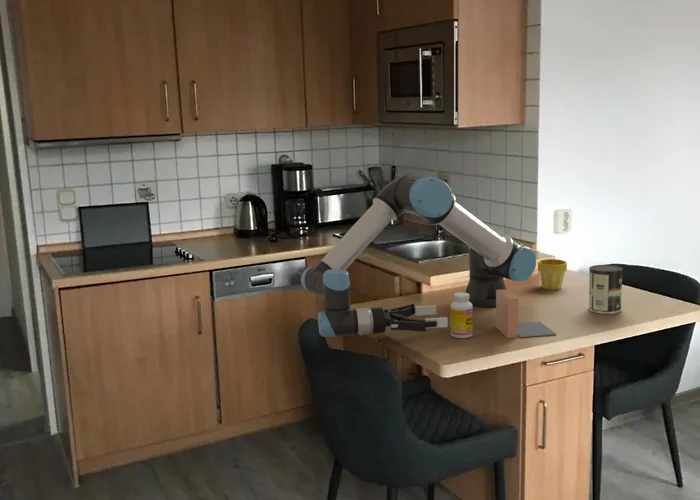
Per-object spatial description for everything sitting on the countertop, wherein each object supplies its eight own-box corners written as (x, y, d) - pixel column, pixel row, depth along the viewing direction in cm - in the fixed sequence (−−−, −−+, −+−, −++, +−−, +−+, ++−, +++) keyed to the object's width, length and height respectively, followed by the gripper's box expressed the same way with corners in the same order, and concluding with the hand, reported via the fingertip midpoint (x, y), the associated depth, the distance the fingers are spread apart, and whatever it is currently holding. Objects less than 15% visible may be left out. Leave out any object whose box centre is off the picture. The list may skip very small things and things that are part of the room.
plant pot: (569, 290, 275) (570, 264, 273) (541, 291, 275) (541, 265, 273) (562, 283, 285) (562, 258, 283) (534, 284, 285) (534, 259, 283)
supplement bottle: (467, 340, 223) (467, 298, 221) (446, 337, 227) (446, 295, 224) (476, 334, 229) (476, 292, 226) (456, 331, 232) (455, 290, 230)
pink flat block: (507, 338, 224) (508, 298, 221) (496, 327, 235) (496, 289, 232) (517, 337, 224) (518, 298, 222) (505, 326, 235) (505, 289, 233)
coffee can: (618, 305, 253) (620, 264, 250) (623, 314, 243) (624, 271, 240) (586, 305, 255) (587, 264, 252) (589, 313, 245) (590, 271, 242)
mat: (520, 338, 223) (520, 336, 223) (506, 325, 236) (506, 324, 236) (556, 335, 225) (556, 333, 224) (540, 322, 237) (540, 321, 237)
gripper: (365, 321, 236) (432, 316, 238) (378, 346, 212) (452, 340, 214) (364, 297, 234) (431, 293, 237) (377, 320, 210) (452, 314, 212)
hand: (441, 315), depth 225 cm, fingers open, 13 cm apart
